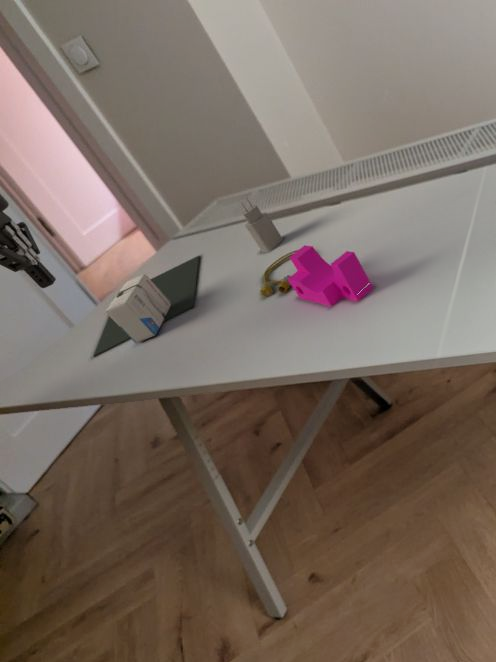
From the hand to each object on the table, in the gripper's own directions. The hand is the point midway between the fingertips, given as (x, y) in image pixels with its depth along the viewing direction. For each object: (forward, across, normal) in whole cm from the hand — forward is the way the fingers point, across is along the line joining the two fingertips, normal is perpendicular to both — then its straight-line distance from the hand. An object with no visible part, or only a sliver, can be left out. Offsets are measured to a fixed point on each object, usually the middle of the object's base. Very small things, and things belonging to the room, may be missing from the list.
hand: (49, 284), depth 90 cm
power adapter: (+19, -26, +32) cm, 45 cm away
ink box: (+14, -7, +3) cm, 16 cm away
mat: (+19, -28, +2) cm, 34 cm away
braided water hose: (+19, -6, +33) cm, 39 cm away
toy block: (+19, +12, +41) cm, 47 cm away
